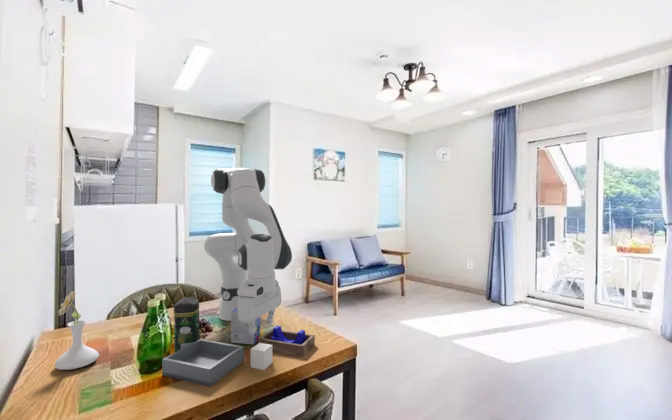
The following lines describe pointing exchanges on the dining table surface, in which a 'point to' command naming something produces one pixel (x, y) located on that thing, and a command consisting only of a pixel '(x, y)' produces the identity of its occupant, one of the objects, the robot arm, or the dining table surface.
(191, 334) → the coffee jar
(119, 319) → the dining table surface
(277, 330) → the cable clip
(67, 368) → the flower in vase
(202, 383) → the tray
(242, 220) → the robot arm
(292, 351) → the organizer
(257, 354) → the block
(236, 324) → the ink cartridge box
